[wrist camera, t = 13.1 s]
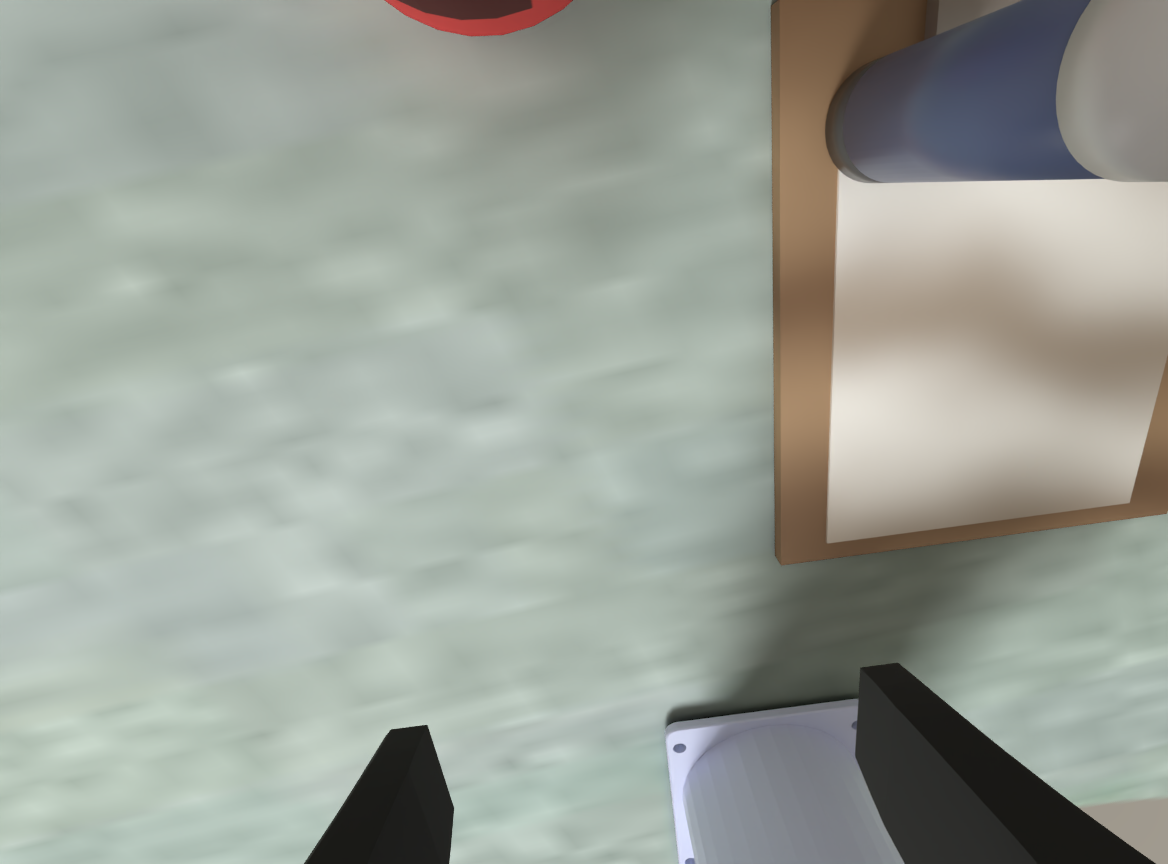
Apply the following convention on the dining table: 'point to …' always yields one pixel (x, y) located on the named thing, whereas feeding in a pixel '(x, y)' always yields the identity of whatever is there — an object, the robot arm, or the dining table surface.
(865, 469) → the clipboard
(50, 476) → the dining table surface
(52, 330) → the dining table surface
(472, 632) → the dining table surface
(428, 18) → the canned food
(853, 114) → the blue cylindrical bottle
